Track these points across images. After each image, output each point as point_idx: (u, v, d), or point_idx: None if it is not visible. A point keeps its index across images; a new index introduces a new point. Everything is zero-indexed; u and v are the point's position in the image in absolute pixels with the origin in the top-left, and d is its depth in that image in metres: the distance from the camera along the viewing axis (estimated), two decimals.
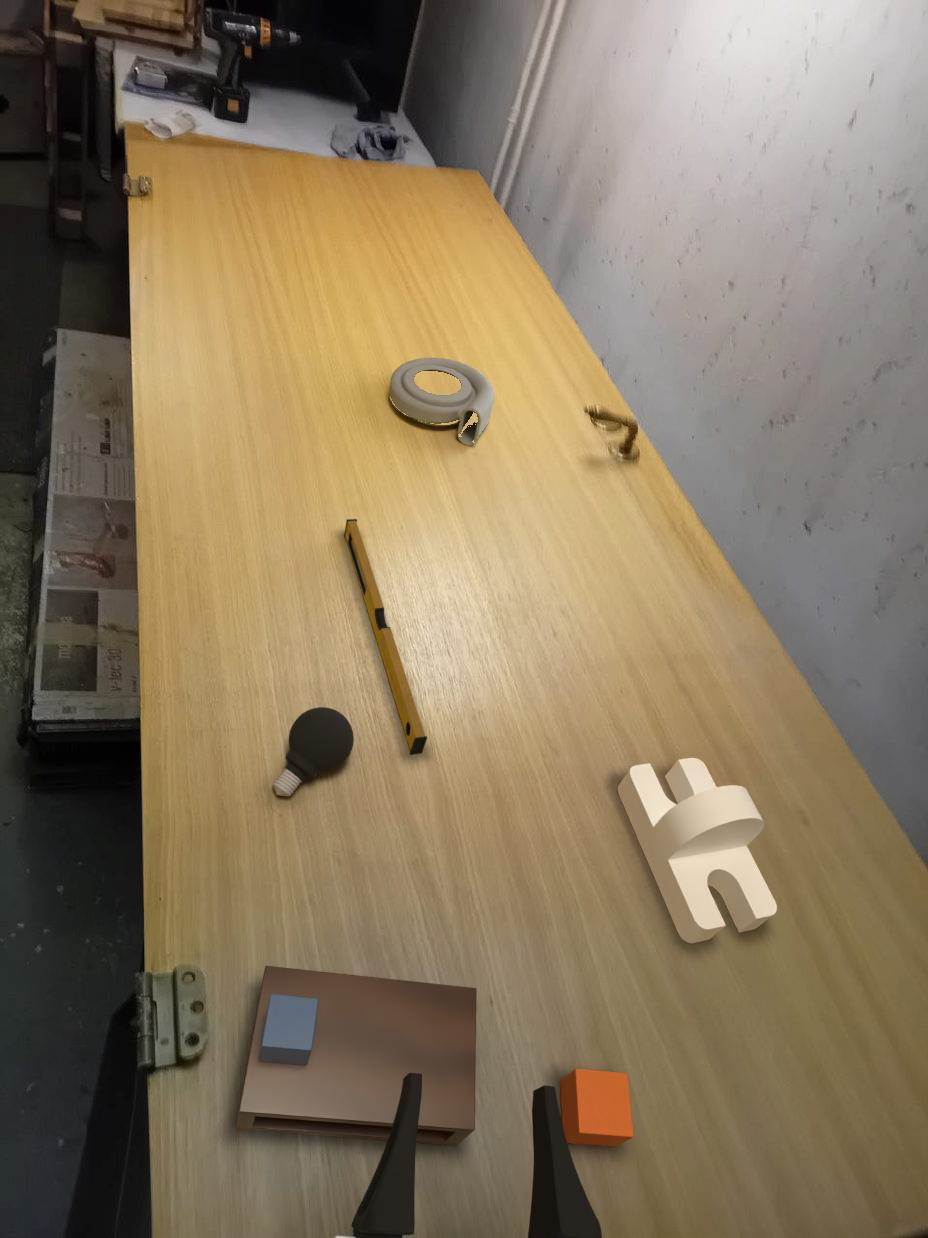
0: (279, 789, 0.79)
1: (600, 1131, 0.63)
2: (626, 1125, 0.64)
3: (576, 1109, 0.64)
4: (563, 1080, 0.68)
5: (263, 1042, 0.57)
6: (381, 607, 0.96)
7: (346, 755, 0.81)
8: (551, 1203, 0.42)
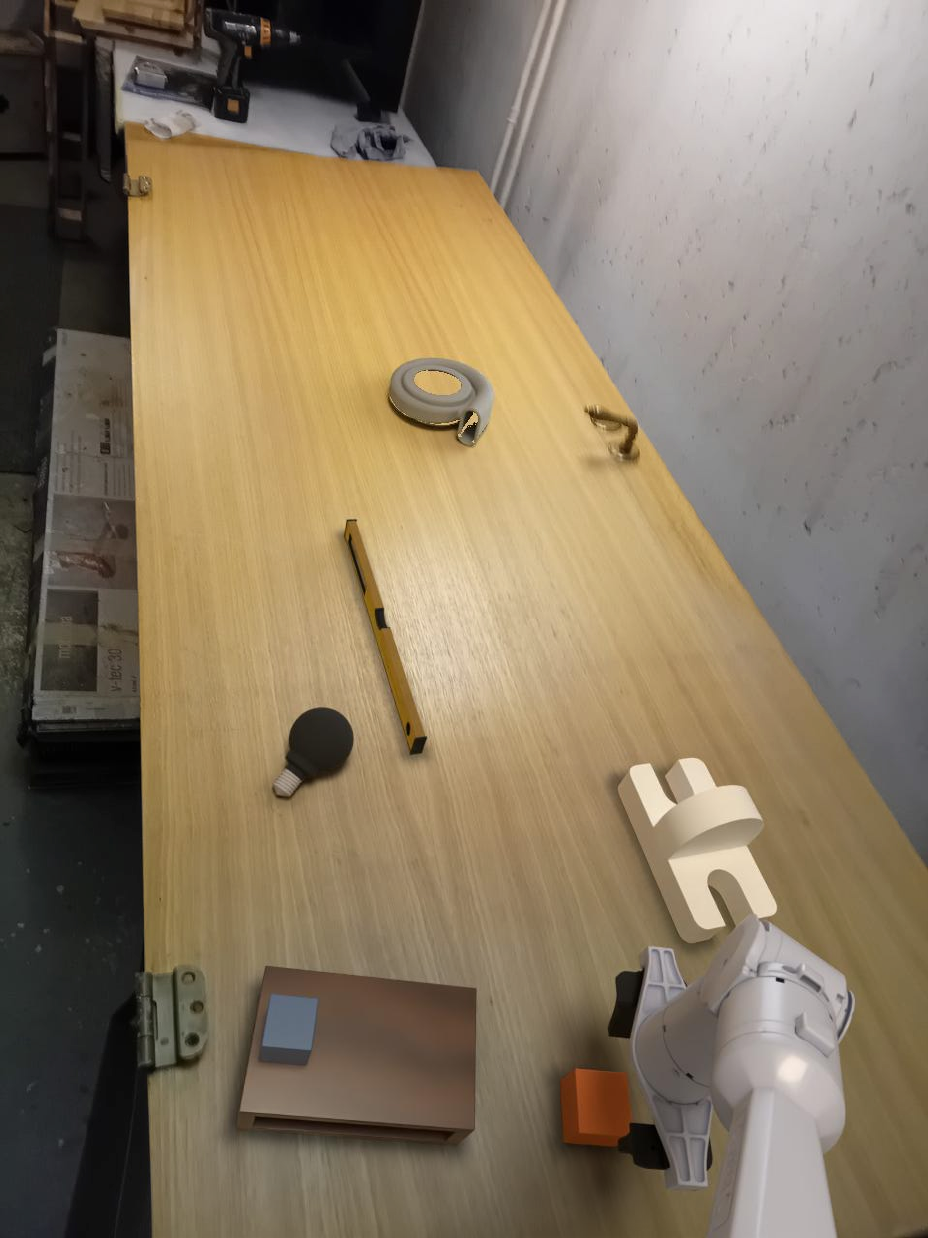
0: (279, 789, 0.79)
1: (600, 1131, 0.63)
2: (626, 1125, 0.64)
3: (576, 1109, 0.64)
4: (563, 1080, 0.68)
5: (263, 1042, 0.57)
6: (381, 607, 0.96)
7: (346, 755, 0.81)
8: None
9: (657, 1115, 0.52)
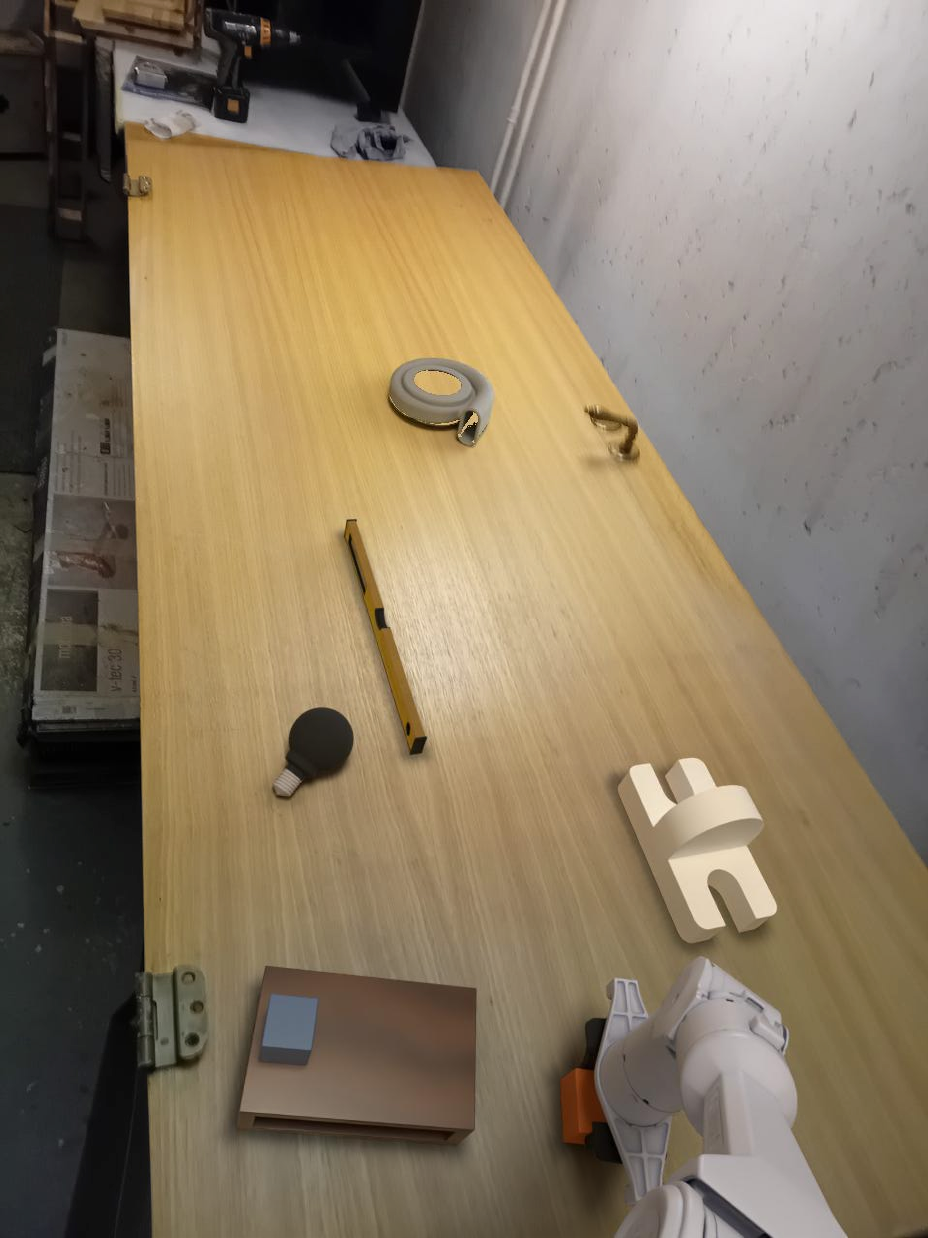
0: (279, 789, 0.79)
1: None
2: None
3: (576, 1109, 0.64)
4: (563, 1080, 0.68)
5: (263, 1042, 0.57)
6: (381, 607, 0.96)
7: (346, 755, 0.81)
8: None
9: (618, 1136, 0.57)
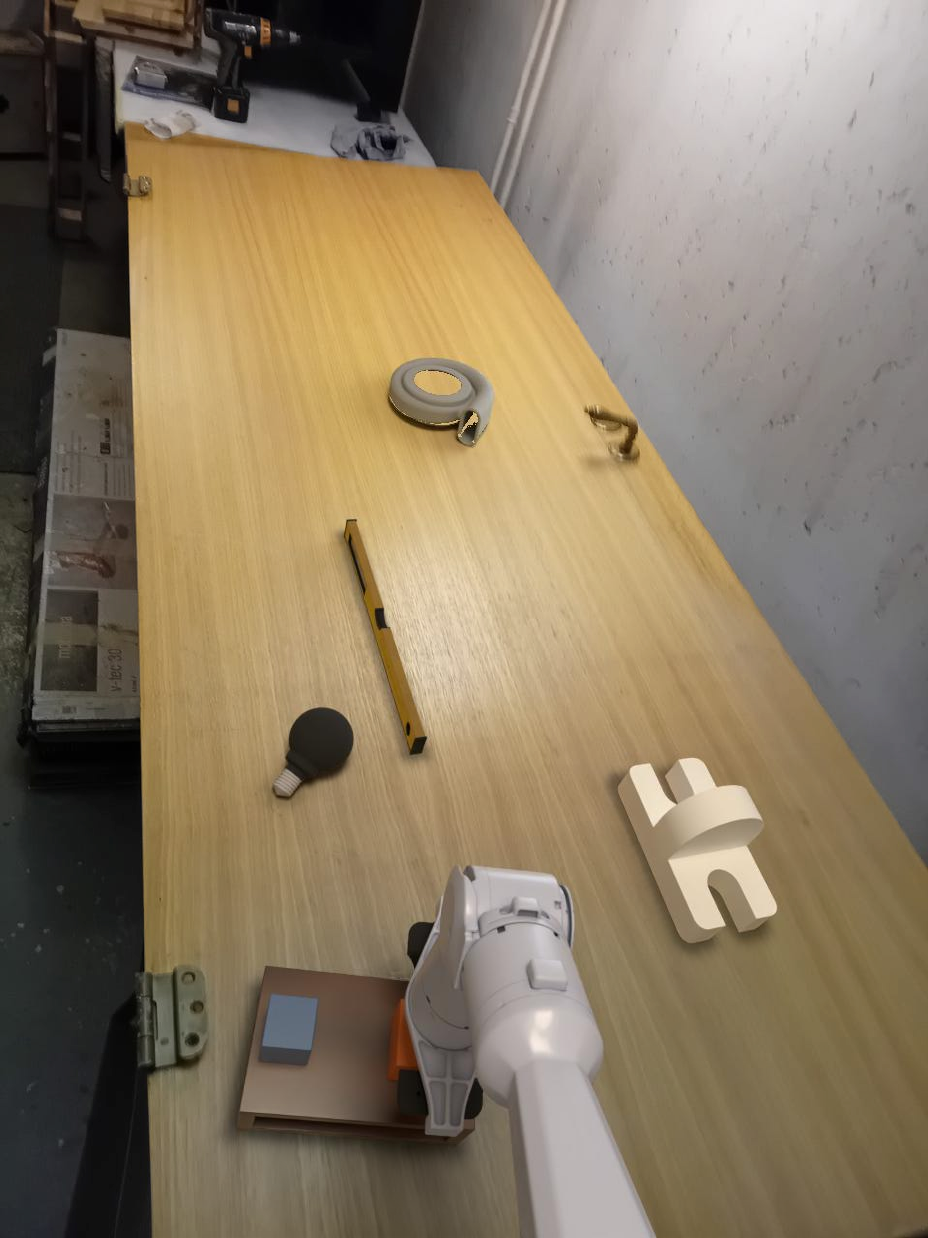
0: (279, 789, 0.79)
1: None
2: None
3: (397, 1041, 0.59)
4: (393, 1014, 0.63)
5: (263, 1042, 0.57)
6: (381, 607, 0.96)
7: (346, 755, 0.81)
8: None
9: (420, 1060, 0.51)
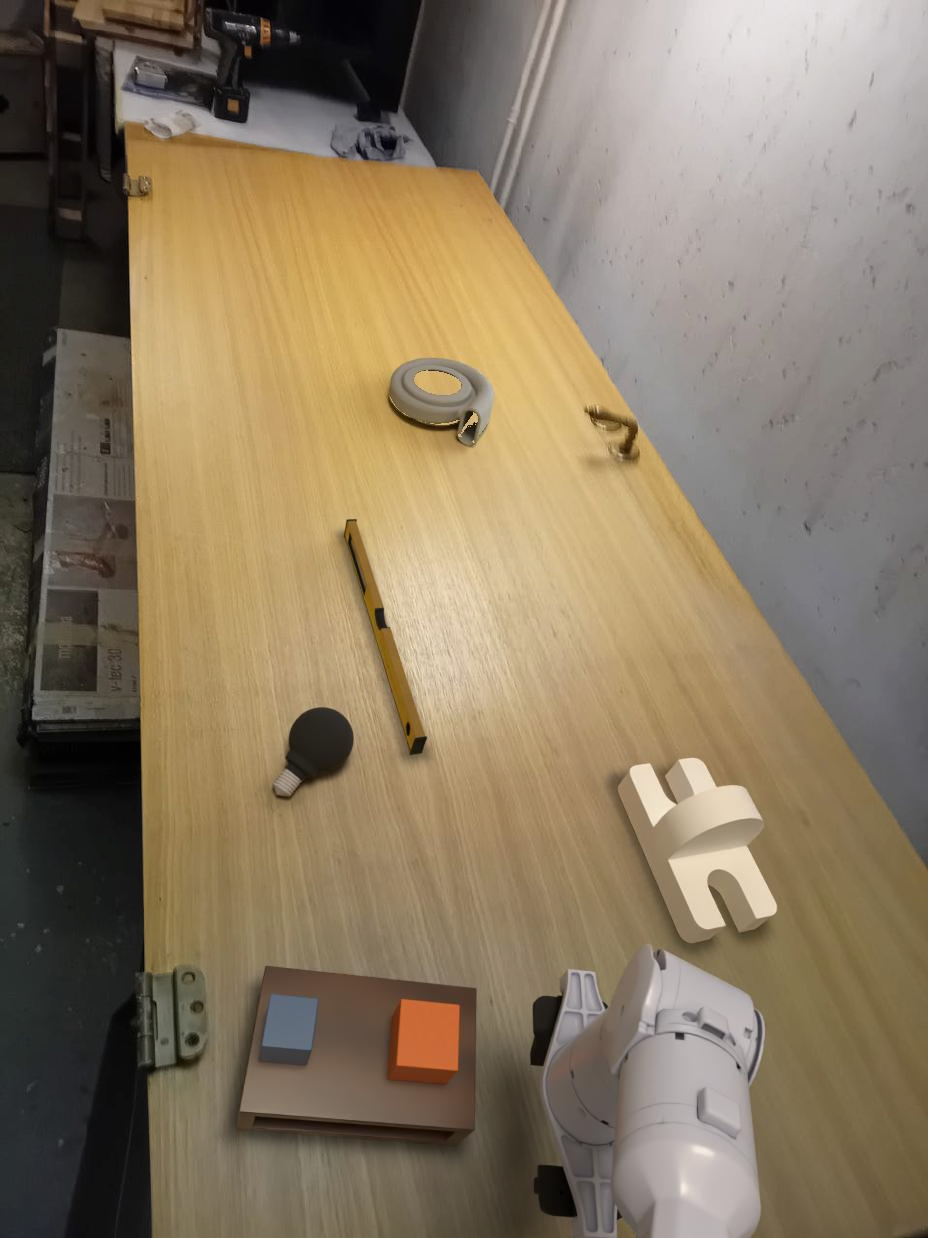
0: (279, 789, 0.79)
1: (421, 1063, 0.58)
2: (451, 1058, 0.59)
3: (397, 1041, 0.59)
4: (393, 1014, 0.63)
5: (263, 1042, 0.57)
6: (381, 607, 0.96)
7: (346, 755, 0.81)
8: None
9: (565, 1157, 0.48)
